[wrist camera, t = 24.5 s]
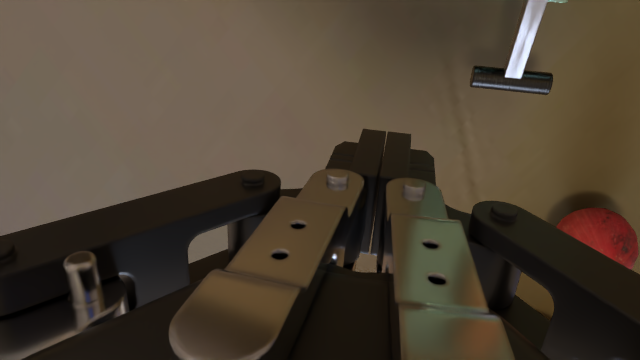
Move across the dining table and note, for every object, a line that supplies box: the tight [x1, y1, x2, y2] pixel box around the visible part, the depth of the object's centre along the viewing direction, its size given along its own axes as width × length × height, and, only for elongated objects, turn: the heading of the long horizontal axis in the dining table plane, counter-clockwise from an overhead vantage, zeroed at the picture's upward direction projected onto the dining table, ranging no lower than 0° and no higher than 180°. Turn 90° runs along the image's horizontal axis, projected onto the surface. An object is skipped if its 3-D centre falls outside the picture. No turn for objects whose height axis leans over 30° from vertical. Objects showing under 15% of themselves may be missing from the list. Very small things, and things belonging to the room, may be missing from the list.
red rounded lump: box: [556, 208, 638, 269], centre depth 37 cm, size 6×6×8 cm
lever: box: [470, 0, 553, 95], centre depth 28 cm, size 11×5×2 cm, turn 176°
